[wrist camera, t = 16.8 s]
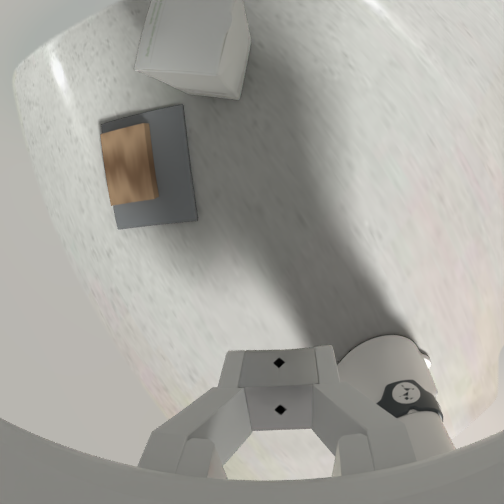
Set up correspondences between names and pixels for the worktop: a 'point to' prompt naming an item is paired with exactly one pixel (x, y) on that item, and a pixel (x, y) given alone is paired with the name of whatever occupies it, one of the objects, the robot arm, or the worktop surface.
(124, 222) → the slate mat
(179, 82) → the skincare box
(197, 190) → the worktop surface
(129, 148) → the walnut slab
